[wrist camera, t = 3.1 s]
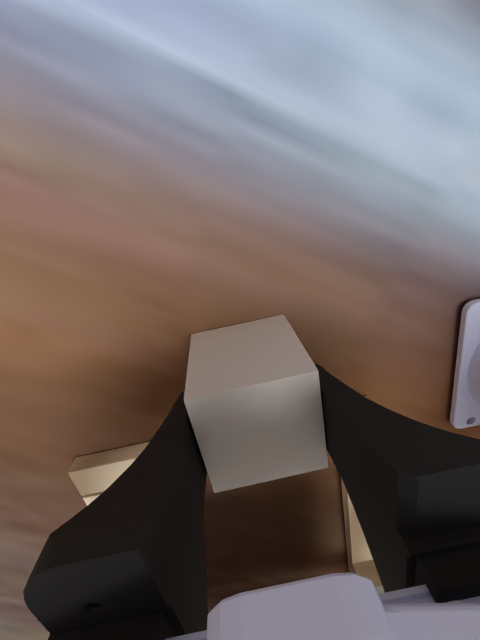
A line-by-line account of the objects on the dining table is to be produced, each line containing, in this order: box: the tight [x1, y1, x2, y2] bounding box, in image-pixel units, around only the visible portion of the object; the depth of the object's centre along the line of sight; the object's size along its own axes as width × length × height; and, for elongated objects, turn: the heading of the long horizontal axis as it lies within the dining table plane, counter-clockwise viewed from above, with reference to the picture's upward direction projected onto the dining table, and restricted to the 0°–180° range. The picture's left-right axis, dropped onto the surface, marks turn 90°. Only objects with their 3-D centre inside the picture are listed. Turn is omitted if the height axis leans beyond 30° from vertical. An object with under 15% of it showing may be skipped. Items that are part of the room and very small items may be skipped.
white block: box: [184, 314, 328, 493], centre depth 13 cm, size 4×4×5 cm
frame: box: [68, 395, 382, 587], centre depth 18 cm, size 16×20×7 cm
